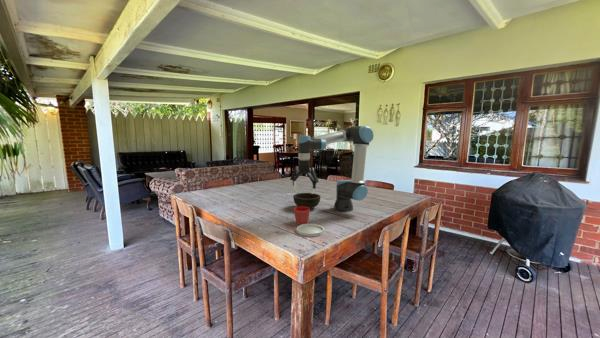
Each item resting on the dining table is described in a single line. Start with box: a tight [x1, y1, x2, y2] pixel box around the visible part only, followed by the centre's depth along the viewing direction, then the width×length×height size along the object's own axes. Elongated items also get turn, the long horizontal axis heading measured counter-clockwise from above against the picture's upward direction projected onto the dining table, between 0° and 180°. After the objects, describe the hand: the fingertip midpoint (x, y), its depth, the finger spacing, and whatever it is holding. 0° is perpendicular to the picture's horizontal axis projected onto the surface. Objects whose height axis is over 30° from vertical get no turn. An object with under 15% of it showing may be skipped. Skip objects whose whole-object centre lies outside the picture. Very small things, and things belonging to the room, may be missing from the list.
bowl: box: [292, 192, 322, 210], centre depth 208 cm, size 22×22×10 cm
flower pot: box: [293, 206, 311, 225], centre depth 173 cm, size 11×11×10 cm
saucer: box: [296, 223, 325, 238], centre depth 158 cm, size 17×17×2 cm
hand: (303, 192), depth 170 cm, fingers open, 13 cm apart
